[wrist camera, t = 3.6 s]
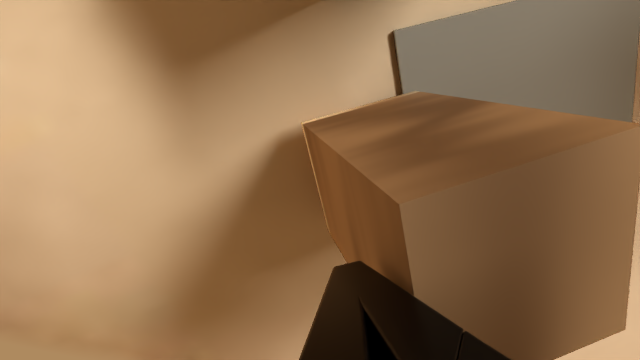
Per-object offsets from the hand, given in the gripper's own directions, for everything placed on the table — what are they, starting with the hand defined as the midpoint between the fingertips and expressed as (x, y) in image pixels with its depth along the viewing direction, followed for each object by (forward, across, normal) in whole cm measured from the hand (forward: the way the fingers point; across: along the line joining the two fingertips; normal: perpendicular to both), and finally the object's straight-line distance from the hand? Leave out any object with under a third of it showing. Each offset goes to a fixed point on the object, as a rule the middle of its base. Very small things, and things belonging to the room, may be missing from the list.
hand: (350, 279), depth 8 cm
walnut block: (+8, -2, 0) cm, 8 cm away
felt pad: (+8, -9, 0) cm, 12 cm away
